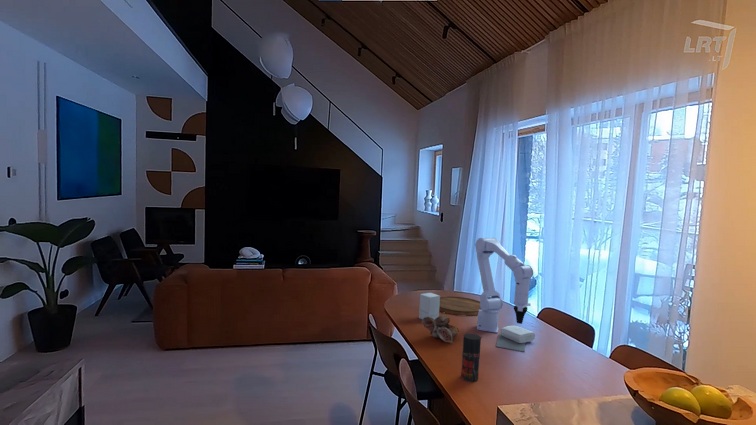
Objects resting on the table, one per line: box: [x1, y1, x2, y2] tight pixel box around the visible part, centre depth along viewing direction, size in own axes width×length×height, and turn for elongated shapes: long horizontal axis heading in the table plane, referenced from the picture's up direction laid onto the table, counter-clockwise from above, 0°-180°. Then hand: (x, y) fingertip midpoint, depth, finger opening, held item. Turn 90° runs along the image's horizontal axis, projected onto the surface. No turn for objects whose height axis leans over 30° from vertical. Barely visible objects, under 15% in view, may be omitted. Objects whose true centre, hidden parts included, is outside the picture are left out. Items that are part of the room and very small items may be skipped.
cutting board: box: [439, 295, 482, 317], centre depth 233 cm, size 32×32×2 cm
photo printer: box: [500, 325, 536, 344], centre depth 187 cm, size 10×4×12 cm
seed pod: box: [420, 314, 459, 344], centre depth 183 cm, size 13×16×15 cm
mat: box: [495, 333, 526, 353], centre depth 182 cm, size 12×17×1 cm
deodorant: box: [460, 333, 482, 383], centre depth 145 cm, size 6×6×15 cm
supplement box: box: [418, 292, 441, 320], centre depth 209 cm, size 7×7×13 cm
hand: (519, 323), depth 182 cm, fingers closed
